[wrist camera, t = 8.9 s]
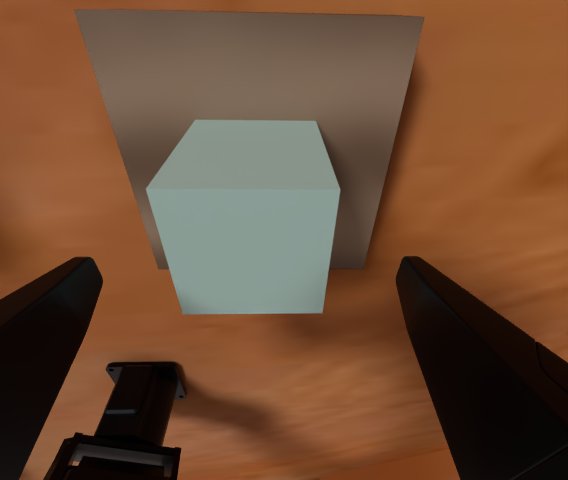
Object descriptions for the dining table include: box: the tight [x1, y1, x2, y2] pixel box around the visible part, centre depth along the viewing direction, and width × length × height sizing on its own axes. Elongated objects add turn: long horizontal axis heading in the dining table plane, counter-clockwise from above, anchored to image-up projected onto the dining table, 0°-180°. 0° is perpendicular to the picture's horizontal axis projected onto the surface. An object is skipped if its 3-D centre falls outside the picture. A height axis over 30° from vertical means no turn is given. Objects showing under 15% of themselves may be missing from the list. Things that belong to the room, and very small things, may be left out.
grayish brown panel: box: [74, 9, 424, 269], centre depth 15 cm, size 12×12×3 cm
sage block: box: [146, 120, 340, 314], centre depth 12 cm, size 5×5×6 cm
